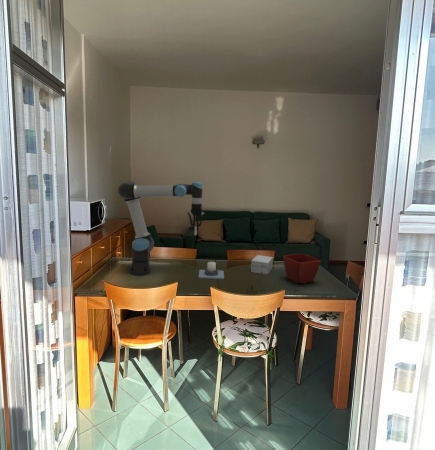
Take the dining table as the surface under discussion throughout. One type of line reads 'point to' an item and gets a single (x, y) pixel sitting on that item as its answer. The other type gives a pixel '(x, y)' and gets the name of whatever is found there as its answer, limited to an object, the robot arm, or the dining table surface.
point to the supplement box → (261, 264)
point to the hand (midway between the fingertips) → (195, 234)
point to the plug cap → (211, 267)
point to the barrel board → (211, 274)
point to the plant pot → (301, 267)
